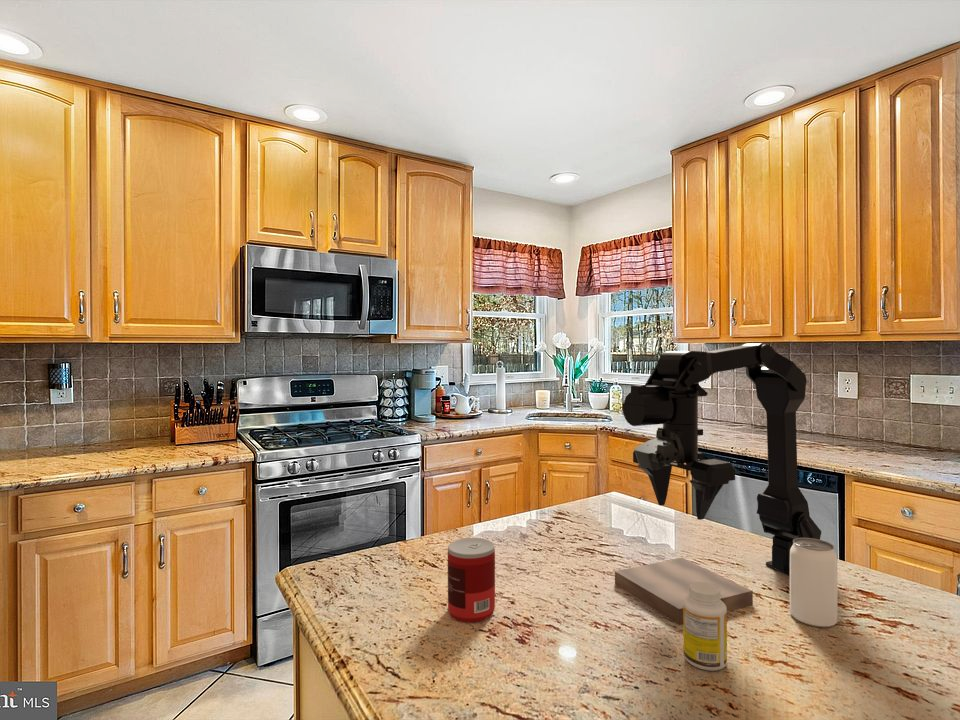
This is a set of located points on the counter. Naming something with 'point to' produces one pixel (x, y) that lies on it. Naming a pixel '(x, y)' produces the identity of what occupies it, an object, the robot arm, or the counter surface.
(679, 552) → the counter surface
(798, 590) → the can
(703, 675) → the counter surface
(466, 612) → the canned food
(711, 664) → the supplement bottle
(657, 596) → the base
